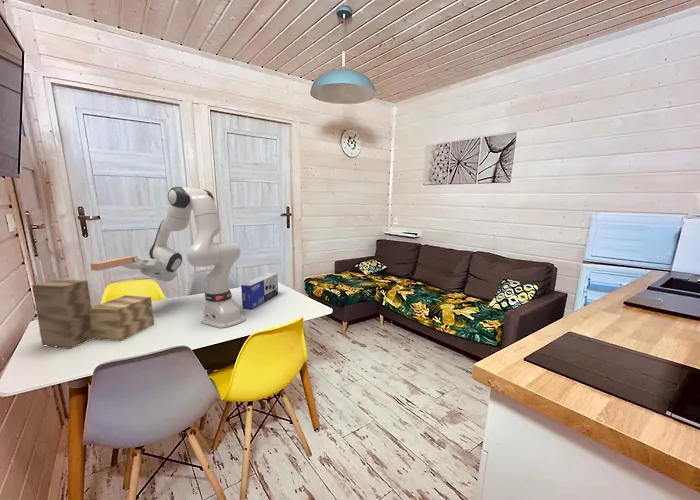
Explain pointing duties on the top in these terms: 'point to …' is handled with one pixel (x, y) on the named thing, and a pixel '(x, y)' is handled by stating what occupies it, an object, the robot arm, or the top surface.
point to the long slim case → (112, 263)
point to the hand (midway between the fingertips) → (129, 258)
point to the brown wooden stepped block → (86, 314)
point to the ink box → (259, 290)
